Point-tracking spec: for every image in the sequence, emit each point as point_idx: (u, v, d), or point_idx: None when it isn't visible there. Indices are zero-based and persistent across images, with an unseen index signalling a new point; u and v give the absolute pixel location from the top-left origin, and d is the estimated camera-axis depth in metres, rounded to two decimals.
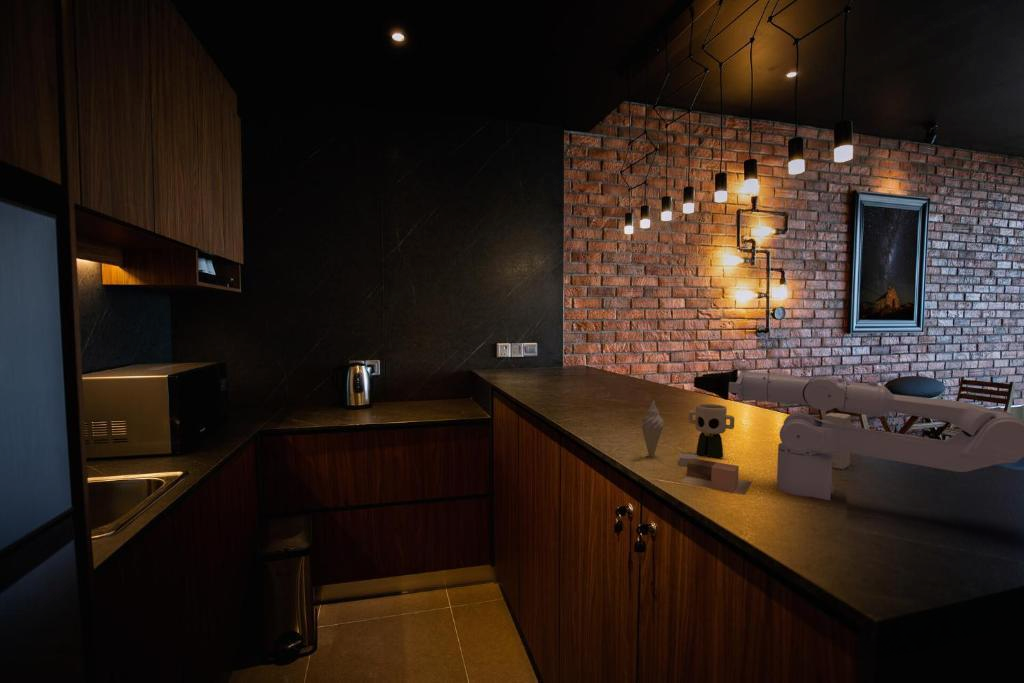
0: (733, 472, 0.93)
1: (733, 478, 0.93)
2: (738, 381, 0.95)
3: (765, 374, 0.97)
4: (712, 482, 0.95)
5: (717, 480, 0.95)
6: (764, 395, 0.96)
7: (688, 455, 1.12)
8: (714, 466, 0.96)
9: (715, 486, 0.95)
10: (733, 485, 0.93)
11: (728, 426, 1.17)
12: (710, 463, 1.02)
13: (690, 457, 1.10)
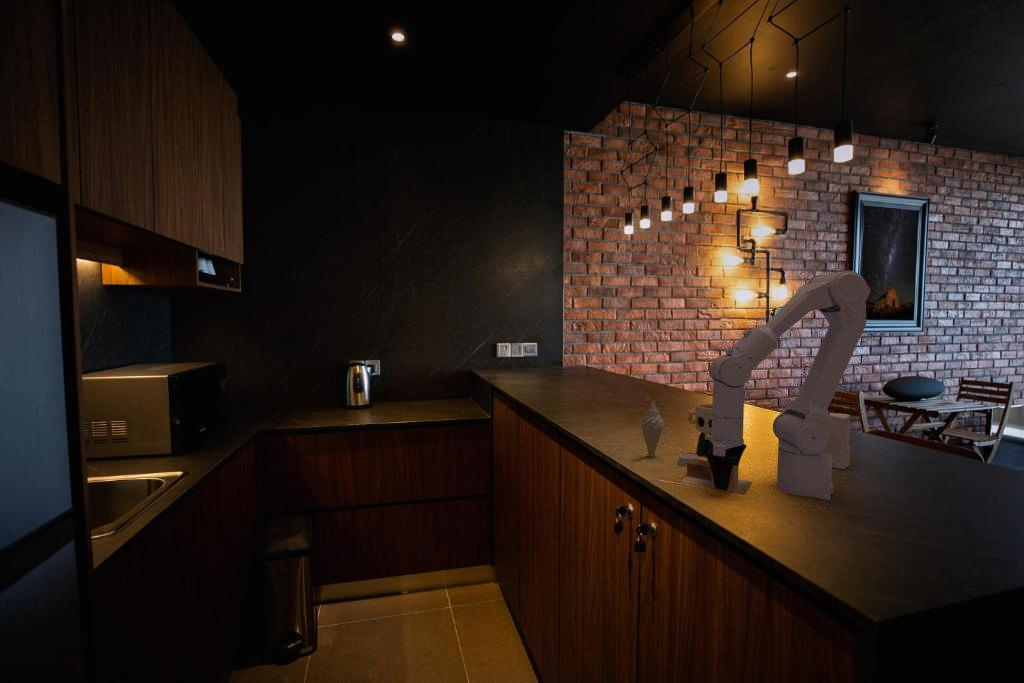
0: (733, 472, 0.93)
1: (733, 478, 0.93)
2: (713, 445, 0.91)
3: (712, 418, 0.96)
4: (712, 482, 0.95)
5: None
6: (732, 421, 0.92)
7: (688, 455, 1.12)
8: None
9: None
10: (733, 485, 0.93)
11: None
12: None
13: (690, 457, 1.10)
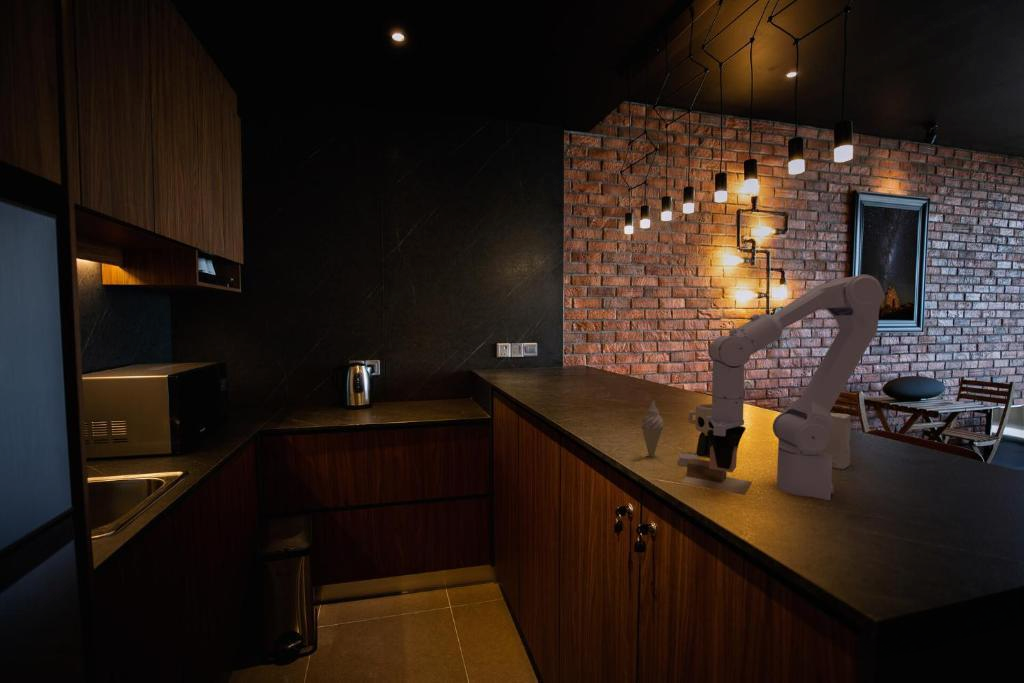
0: None
1: None
2: (714, 425, 0.91)
3: (712, 399, 0.96)
4: (710, 462, 0.95)
5: (715, 461, 0.95)
6: (732, 401, 0.92)
7: (688, 455, 1.12)
8: (712, 446, 0.96)
9: (714, 466, 0.95)
10: (731, 465, 0.93)
11: None
12: None
13: (690, 457, 1.10)
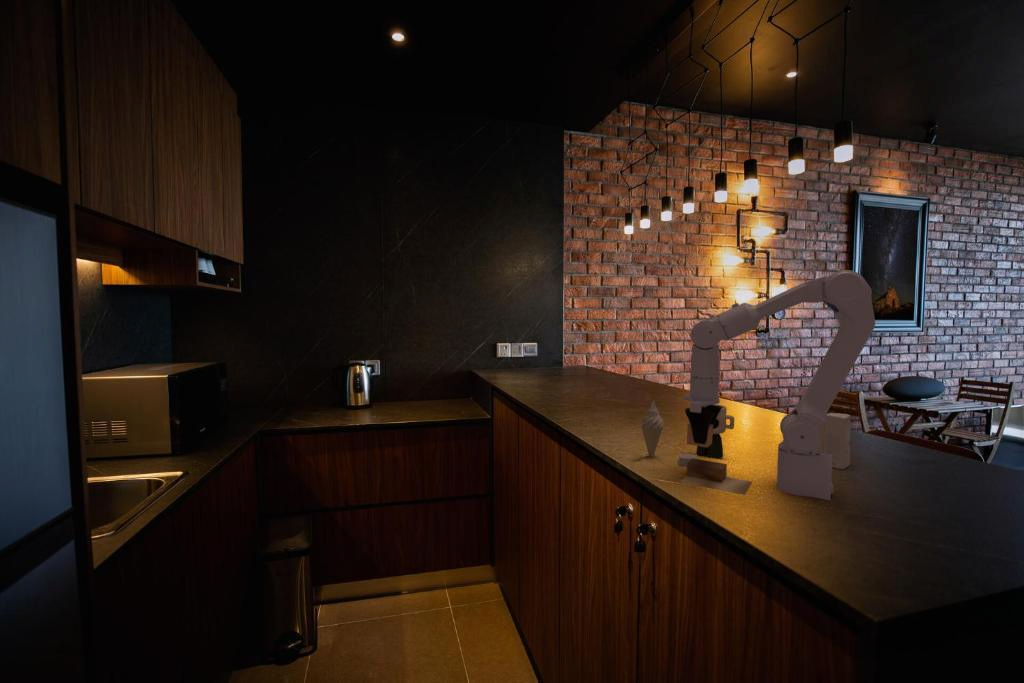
0: None
1: None
2: None
3: (690, 379, 1.03)
4: (688, 438, 1.02)
5: (692, 437, 1.02)
6: (708, 381, 0.99)
7: (688, 455, 1.12)
8: None
9: (691, 442, 1.02)
10: (707, 440, 1.00)
11: (728, 426, 1.17)
12: (710, 463, 1.02)
13: (690, 457, 1.10)
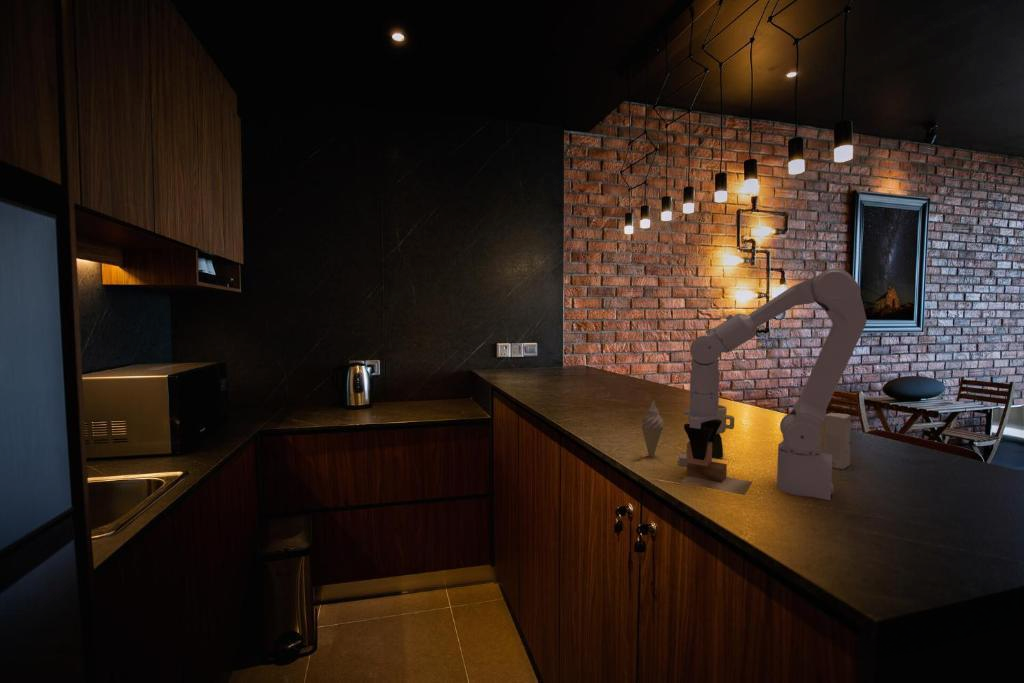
0: None
1: (706, 453, 1.00)
2: None
3: (690, 394, 1.03)
4: (687, 457, 1.03)
5: (692, 455, 1.02)
6: (708, 396, 0.99)
7: None
8: (689, 442, 1.03)
9: (690, 461, 1.02)
10: (706, 459, 1.00)
11: (728, 426, 1.17)
12: (710, 463, 1.02)
13: None
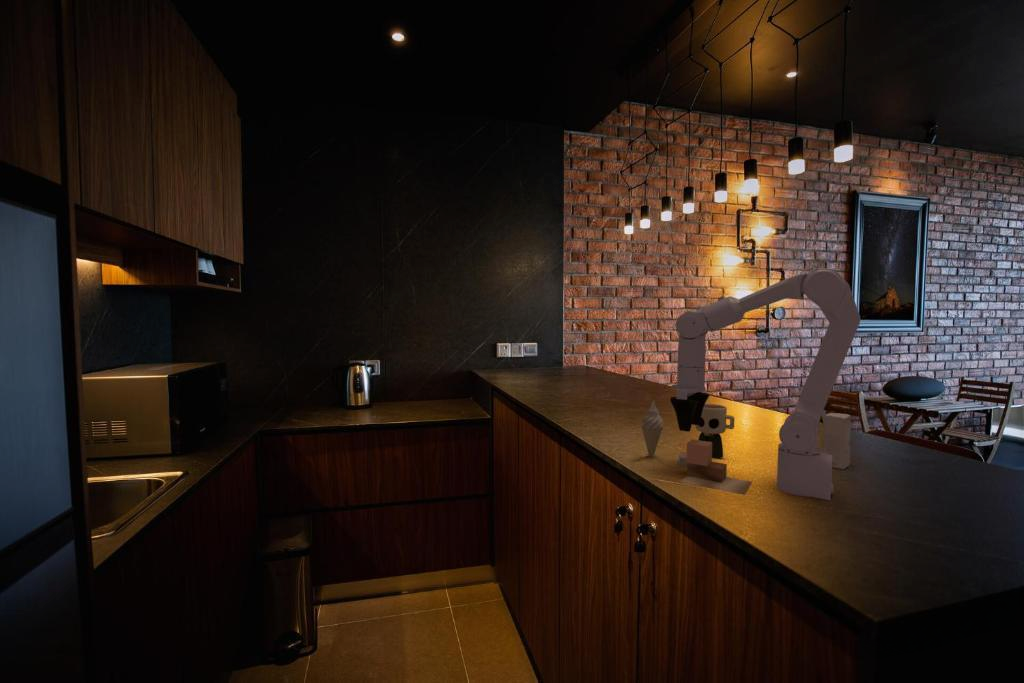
0: (706, 447, 1.00)
1: (706, 453, 1.00)
2: None
3: None
4: (687, 457, 1.03)
5: (692, 455, 1.02)
6: (694, 369, 1.03)
7: None
8: (689, 442, 1.03)
9: (690, 461, 1.02)
10: (706, 459, 1.00)
11: (728, 426, 1.17)
12: (710, 463, 1.02)
13: None
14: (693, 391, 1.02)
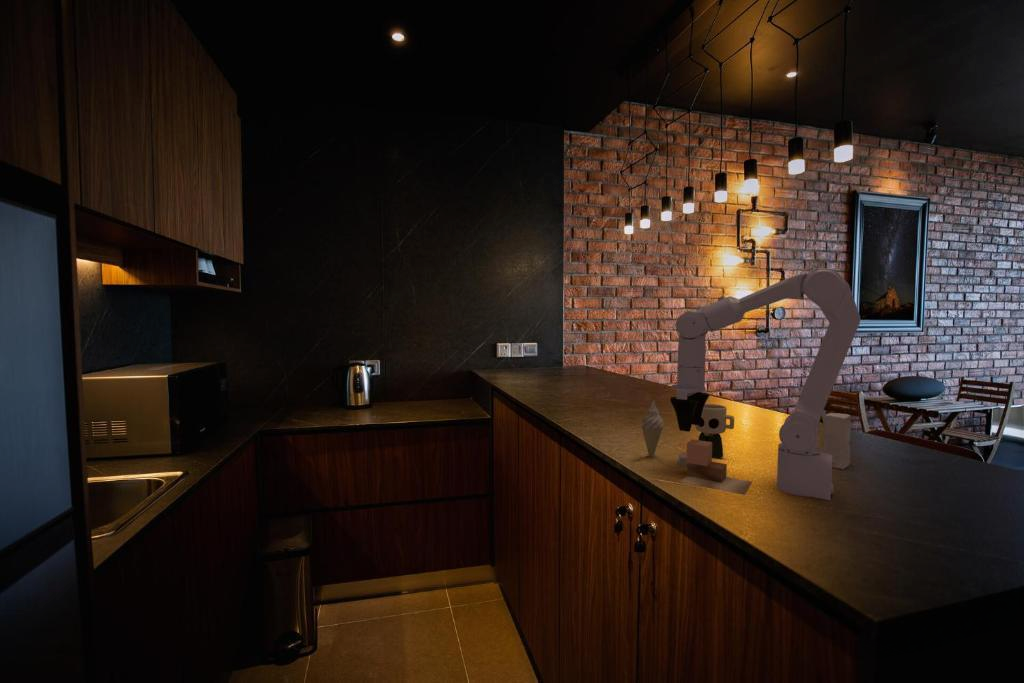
0: (706, 447, 1.00)
1: (706, 453, 1.00)
2: None
3: None
4: (687, 457, 1.03)
5: (692, 455, 1.02)
6: (694, 369, 1.03)
7: None
8: (689, 442, 1.03)
9: (690, 461, 1.02)
10: (706, 459, 1.00)
11: (728, 426, 1.17)
12: (710, 463, 1.02)
13: None
14: (693, 391, 1.02)
